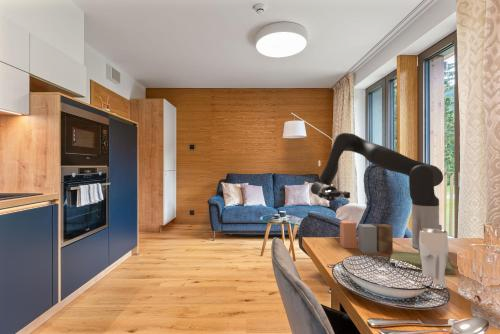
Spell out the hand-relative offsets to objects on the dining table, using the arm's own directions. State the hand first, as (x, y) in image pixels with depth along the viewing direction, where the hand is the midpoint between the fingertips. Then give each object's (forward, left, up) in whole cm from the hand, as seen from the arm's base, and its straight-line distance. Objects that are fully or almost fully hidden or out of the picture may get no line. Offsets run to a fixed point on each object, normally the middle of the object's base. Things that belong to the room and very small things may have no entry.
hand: (338, 196), depth 127 cm
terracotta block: (0, +12, -19) cm, 23 cm away
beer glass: (-10, +50, -19) cm, 55 cm away
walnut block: (-11, +19, -19) cm, 29 cm away
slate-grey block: (-5, +19, -19) cm, 28 cm away
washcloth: (-16, +34, -20) cm, 43 cm away
